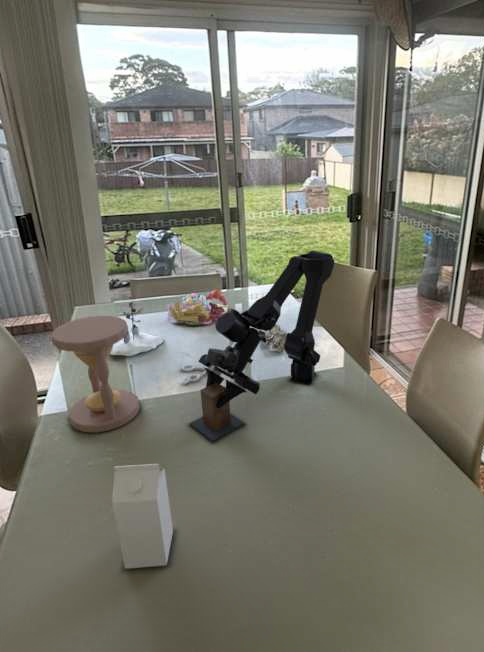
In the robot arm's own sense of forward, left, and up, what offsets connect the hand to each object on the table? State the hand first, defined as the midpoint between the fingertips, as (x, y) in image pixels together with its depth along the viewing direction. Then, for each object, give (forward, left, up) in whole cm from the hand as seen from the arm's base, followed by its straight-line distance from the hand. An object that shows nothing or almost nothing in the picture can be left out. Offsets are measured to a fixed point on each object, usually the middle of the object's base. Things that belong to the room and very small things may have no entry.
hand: (210, 403), depth 110 cm
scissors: (+14, -26, -7) cm, 31 cm away
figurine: (+48, -32, -7) cm, 59 cm away
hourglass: (+30, +4, -7) cm, 31 cm away
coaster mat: (-1, -1, -7) cm, 7 cm away
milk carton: (-7, +36, -7) cm, 37 cm away
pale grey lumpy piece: (+4, -54, -7) cm, 55 cm away
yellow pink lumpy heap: (+42, -66, -7) cm, 79 cm away
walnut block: (-1, -1, -7) cm, 7 cm away
